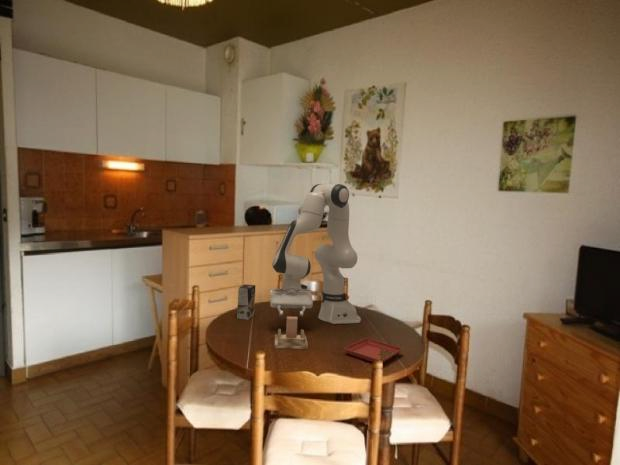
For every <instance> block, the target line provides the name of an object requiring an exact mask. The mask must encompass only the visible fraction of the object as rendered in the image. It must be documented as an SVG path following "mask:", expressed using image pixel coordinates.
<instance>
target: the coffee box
mask: <svg viewBox="0 0 620 465" xmlns="http://www.w3.org/2000/svg"><path fill="white" fill-rule="evenodd" d="M256 286H257V285H255V284H243V285H240V286H239V287H238V293H237V294H238V295H237V311H236V312H237V313H236V319H238V320H239V319H240V320H245V321H249V320H250V319H251V318H253V317H254V315H255V308H256V307H255V305H256V304H255V301H256Z"/></svg>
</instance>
